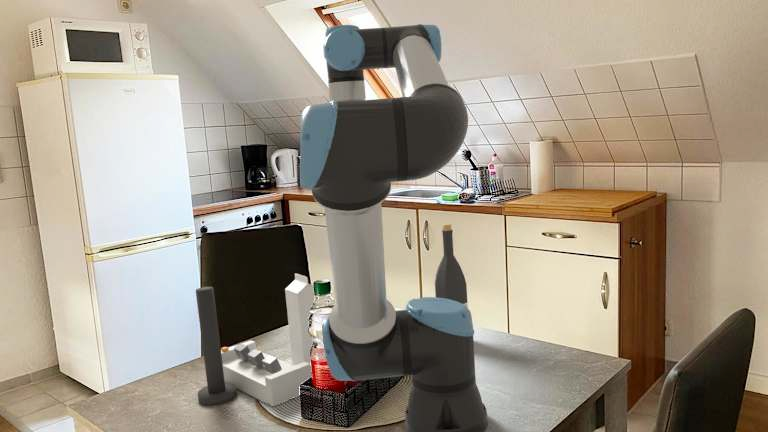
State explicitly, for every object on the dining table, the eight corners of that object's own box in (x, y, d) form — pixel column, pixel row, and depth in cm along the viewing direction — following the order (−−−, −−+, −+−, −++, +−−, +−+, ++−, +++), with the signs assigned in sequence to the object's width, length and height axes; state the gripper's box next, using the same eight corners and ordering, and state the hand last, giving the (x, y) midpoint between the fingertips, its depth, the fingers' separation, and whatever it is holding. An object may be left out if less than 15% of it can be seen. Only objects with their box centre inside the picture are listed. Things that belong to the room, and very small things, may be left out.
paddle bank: (287, 373, 136) (280, 359, 135) (280, 379, 135) (273, 365, 134) (243, 354, 149) (237, 341, 148) (236, 359, 148) (230, 346, 147)
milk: (305, 372, 147) (295, 280, 144) (292, 365, 152) (282, 275, 148) (327, 365, 151) (318, 274, 147) (314, 358, 156) (305, 270, 152)
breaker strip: (312, 390, 137) (309, 361, 136) (273, 407, 131) (270, 376, 130) (253, 363, 155) (250, 337, 154) (216, 377, 148) (212, 350, 147)
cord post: (243, 395, 137) (231, 287, 133) (209, 409, 132) (195, 296, 128) (225, 385, 143) (212, 281, 139) (191, 398, 138) (177, 290, 134)
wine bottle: (433, 347, 157) (425, 227, 152) (443, 336, 164) (436, 221, 159) (465, 350, 153) (458, 227, 149) (474, 338, 161) (467, 221, 156)
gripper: (382, 100, 131) (390, 214, 135) (342, 104, 141) (351, 210, 144) (354, 102, 126) (364, 219, 130) (314, 105, 136) (324, 215, 139)
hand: (357, 214), depth 137 cm, fingers closed
